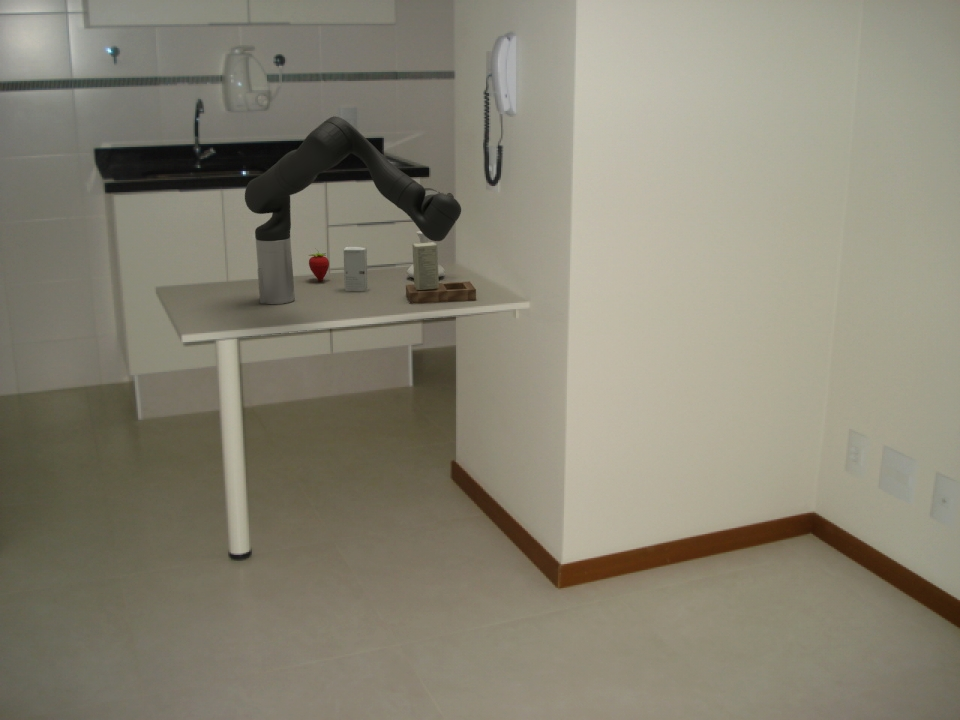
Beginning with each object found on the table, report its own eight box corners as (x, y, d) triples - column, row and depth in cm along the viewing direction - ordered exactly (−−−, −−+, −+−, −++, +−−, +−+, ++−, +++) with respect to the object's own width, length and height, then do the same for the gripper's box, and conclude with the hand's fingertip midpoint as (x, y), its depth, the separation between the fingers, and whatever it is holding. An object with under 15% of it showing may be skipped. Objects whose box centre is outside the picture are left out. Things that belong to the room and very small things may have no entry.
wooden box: (409, 303, 269) (409, 293, 268) (406, 295, 278) (405, 284, 277) (476, 300, 272) (475, 289, 271) (470, 291, 281) (469, 281, 280)
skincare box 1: (344, 291, 283) (342, 249, 280) (347, 288, 288) (345, 246, 284) (366, 291, 283) (364, 249, 279) (368, 288, 287) (366, 246, 284)
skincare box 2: (435, 285, 276) (434, 241, 272) (439, 289, 272) (438, 244, 268) (413, 287, 274) (411, 243, 271) (416, 290, 270) (415, 246, 267)
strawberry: (313, 284, 292) (311, 250, 290) (307, 279, 299) (305, 246, 296) (333, 282, 295) (331, 249, 292) (326, 277, 301) (324, 244, 298)
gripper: (458, 189, 240) (448, 180, 255) (399, 191, 238) (392, 182, 253) (459, 220, 242) (449, 210, 257) (400, 222, 240) (393, 212, 255)
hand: (421, 196), depth 255 cm, fingers open, 8 cm apart
